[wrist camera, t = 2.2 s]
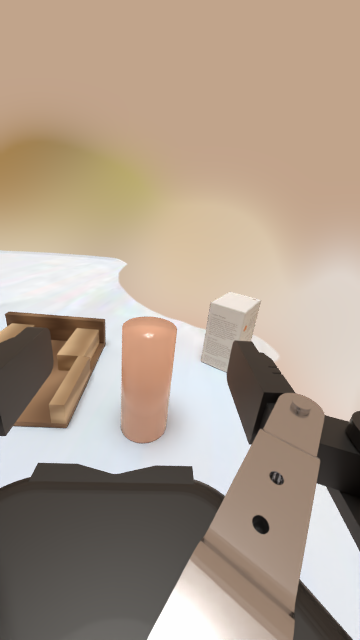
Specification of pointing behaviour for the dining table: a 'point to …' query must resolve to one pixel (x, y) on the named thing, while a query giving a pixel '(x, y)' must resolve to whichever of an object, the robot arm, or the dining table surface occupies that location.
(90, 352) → the keyhole track
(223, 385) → the dining table surface
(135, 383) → the salmon orange cylinder
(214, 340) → the small box
